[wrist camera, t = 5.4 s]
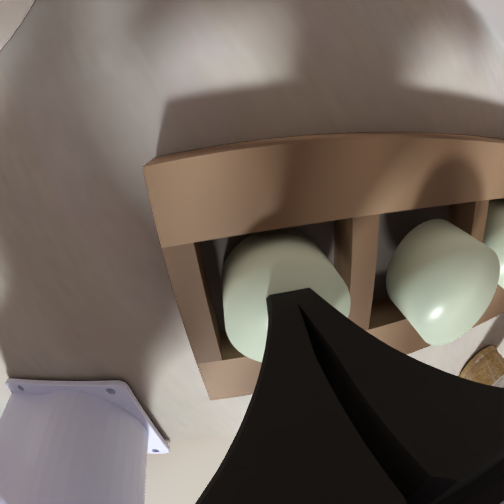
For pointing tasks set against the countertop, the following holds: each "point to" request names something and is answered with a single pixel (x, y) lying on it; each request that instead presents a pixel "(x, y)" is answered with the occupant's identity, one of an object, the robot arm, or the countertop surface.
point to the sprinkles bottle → (486, 368)
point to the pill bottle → (12, 17)
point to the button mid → (442, 280)
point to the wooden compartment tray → (314, 221)
